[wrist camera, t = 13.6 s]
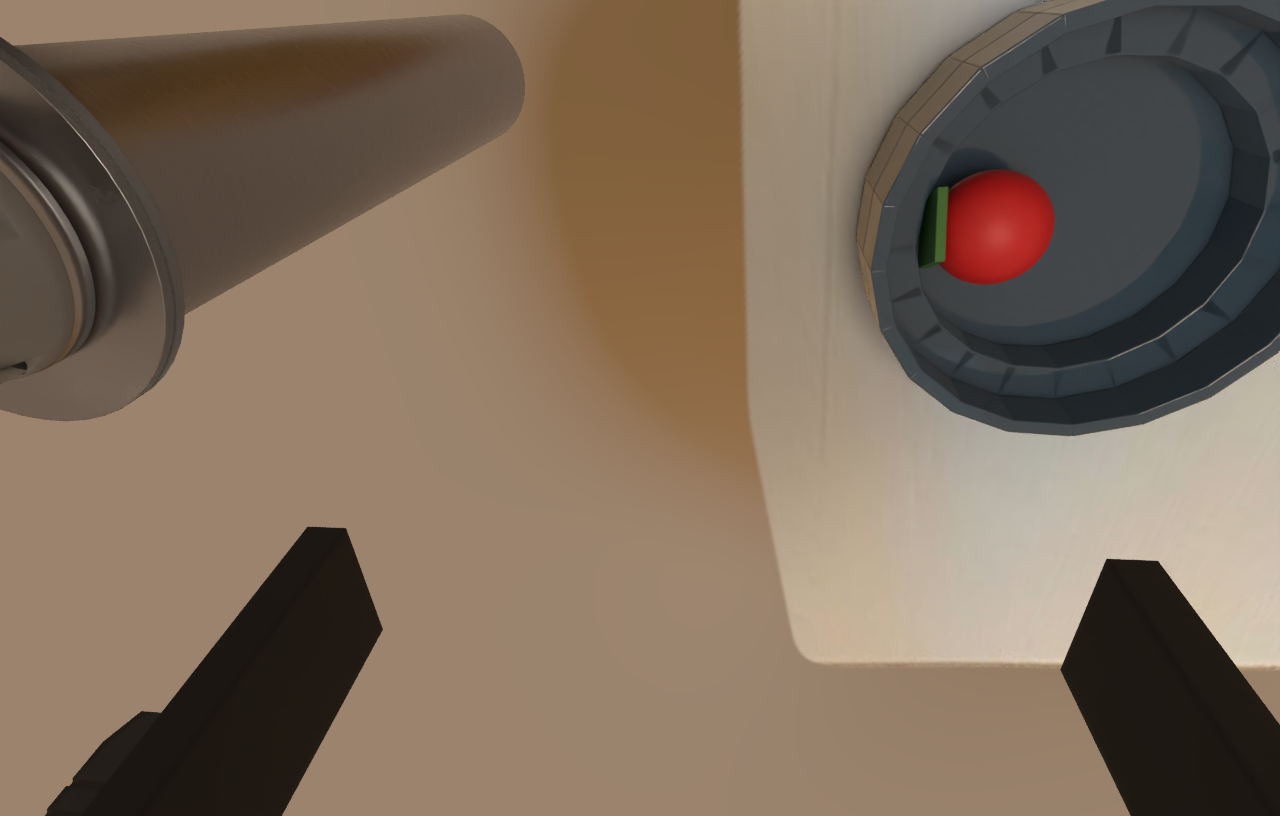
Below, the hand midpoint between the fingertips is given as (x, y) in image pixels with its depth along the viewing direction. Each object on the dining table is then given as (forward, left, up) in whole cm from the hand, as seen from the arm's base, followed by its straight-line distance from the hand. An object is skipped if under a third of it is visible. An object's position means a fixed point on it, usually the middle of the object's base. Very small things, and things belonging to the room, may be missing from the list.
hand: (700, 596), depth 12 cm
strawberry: (+11, +5, -19) cm, 23 cm away
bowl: (+12, +6, -22) cm, 26 cm away
